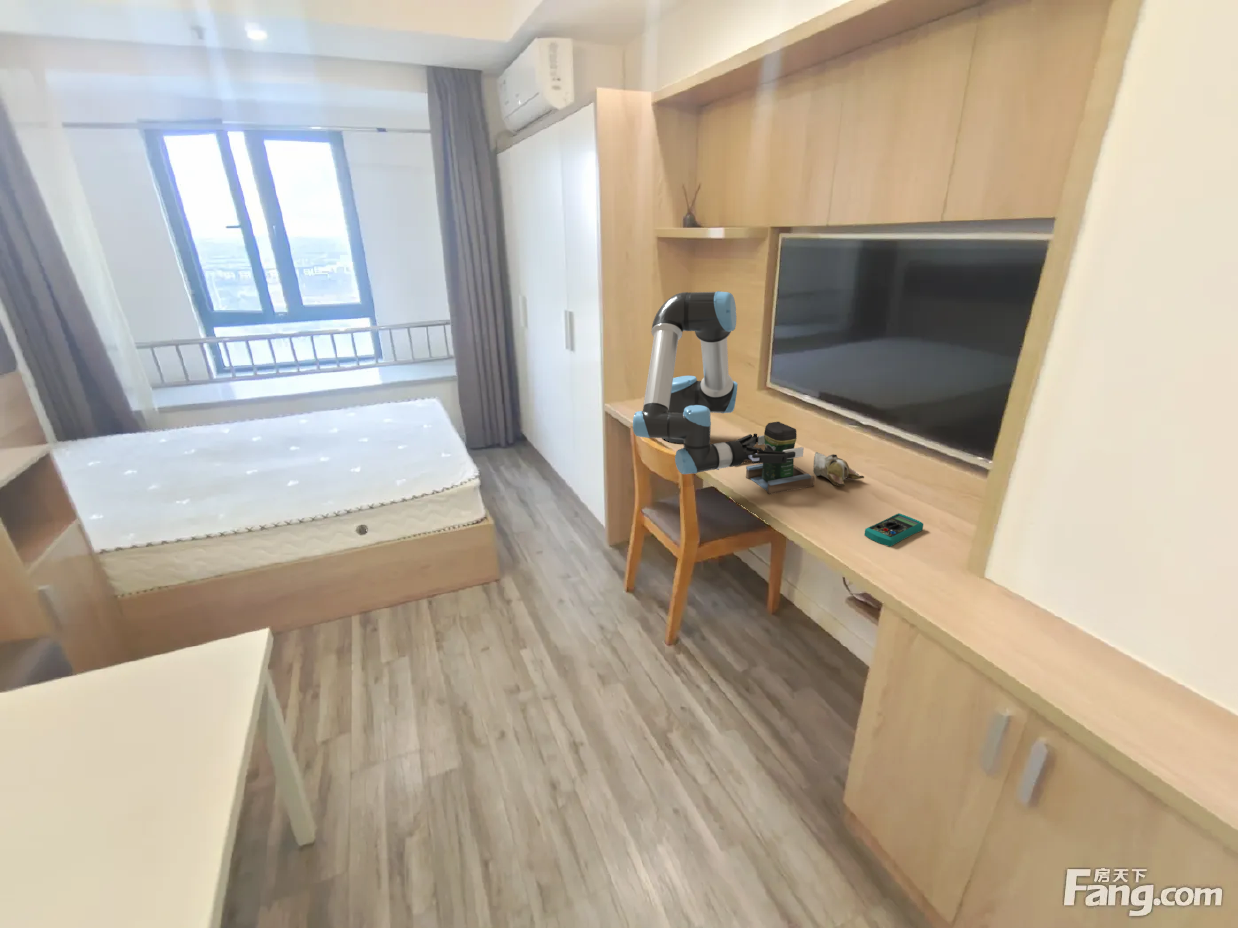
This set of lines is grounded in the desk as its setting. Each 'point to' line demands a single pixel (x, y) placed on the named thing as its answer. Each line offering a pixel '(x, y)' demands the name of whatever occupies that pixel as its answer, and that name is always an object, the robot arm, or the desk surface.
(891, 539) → the digital multimeter
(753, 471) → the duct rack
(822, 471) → the ceramic sculpture
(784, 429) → the coffee jar
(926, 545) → the desk surface
